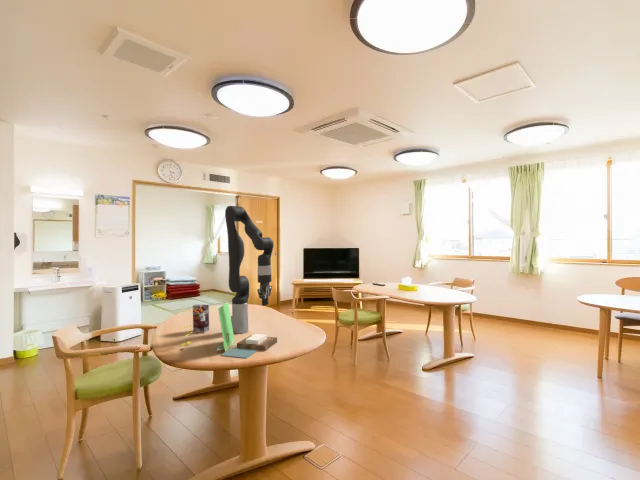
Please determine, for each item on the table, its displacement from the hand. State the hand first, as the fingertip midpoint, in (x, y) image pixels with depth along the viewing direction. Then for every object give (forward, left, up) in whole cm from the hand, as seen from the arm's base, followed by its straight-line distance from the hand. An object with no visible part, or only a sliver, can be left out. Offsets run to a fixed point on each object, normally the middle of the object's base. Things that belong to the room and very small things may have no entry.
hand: (265, 305), depth 182 cm
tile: (0, -10, -17) cm, 20 cm away
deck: (0, -9, -19) cm, 21 cm away
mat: (-3, -23, -19) cm, 30 cm away
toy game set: (-25, -18, -19) cm, 37 cm away
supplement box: (-46, +6, -19) cm, 50 cm away
